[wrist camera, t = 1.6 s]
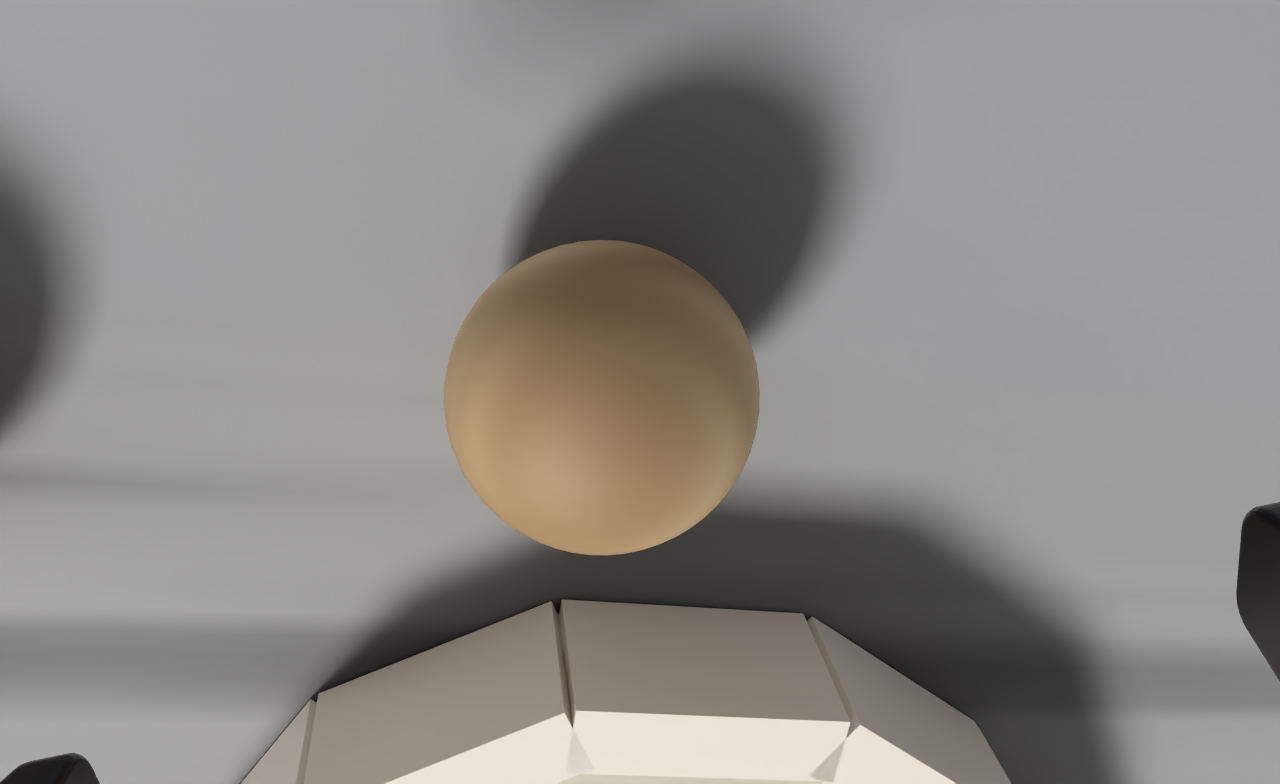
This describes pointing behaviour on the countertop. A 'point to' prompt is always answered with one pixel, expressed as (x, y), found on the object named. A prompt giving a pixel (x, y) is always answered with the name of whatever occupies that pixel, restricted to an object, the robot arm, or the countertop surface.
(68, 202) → the countertop surface
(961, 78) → the countertop surface
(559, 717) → the groove tray
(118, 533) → the countertop surface
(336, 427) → the countertop surface
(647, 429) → the oak bead
